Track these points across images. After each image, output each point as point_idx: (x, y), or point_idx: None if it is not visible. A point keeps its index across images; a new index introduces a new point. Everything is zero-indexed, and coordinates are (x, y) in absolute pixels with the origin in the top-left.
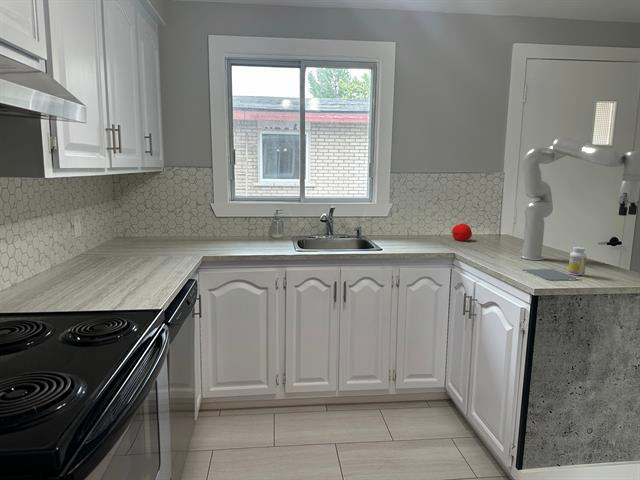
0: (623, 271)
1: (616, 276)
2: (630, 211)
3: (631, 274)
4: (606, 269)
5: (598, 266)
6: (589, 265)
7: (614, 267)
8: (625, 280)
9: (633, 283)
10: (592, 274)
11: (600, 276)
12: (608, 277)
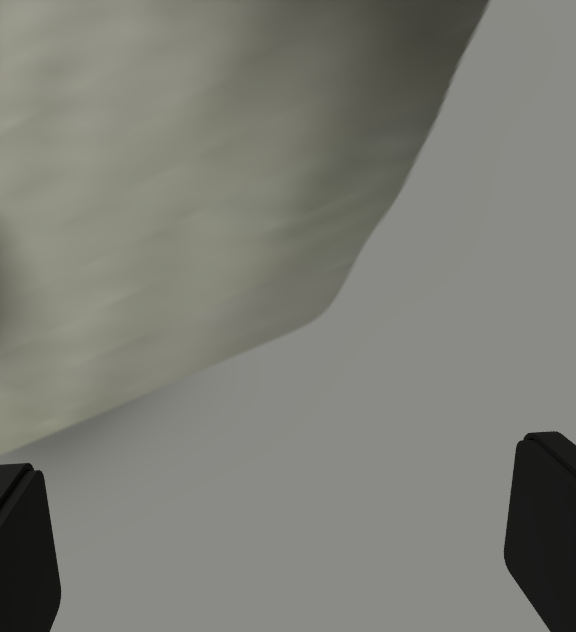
0: (327, 254)
1: (121, 304)
2: (554, 514)
3: (278, 321)
4: (286, 162)
5: (343, 74)
6: (317, 13)
7: (413, 157)
8: (62, 382)
9: (30, 437)
10: (15, 195)
11: (11, 254)
12: (37, 294)
